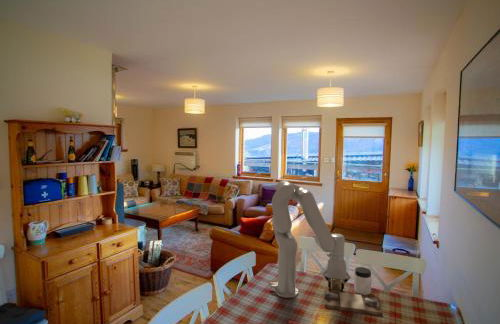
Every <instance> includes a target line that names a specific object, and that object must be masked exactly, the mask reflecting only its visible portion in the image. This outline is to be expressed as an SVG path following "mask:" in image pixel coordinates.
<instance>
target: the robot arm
mask: <svg viewBox="0 0 500 324" xmlns="http://www.w3.org/2000/svg"><path fill="white" fill-rule="evenodd" d="M271 198H272V199H271V208H272V218H271V219H272V220H271V222H272V227H273V232H274V237H275V240H276V243H277V245H278V256H277V257H278V261H277V281H276V282H274V281H270V283H269V286H270V287H271V288H272V289H274V293H275V294H276V295H277V296H279V297H281V298H285V299H291V298H295V297H297V296H299V289H298V288H297V287H296V282H297V280H296V279H297V278H296V277H297V276H296V274H297V253H298V242H297V240H296V238H295V236H294V235H293V234H292V226H293V224H292V219H291V215H290V210H289V201H290V200H293V201H295V202H296V203H298V205H299V206H300V209H301V211H302V213H303V215H304V219H305V220H306V223H308V226H309V227H310V228H311V229H312V231H313V233H314V235H315V236H314V242H315V244H316V245H317V246H318V247H319V248H320V249H321V251H322V252H325V253H327V254H326V257H328V259H327V265H326V269H325V270H324V271H323V272H322V273H321V275H322V276H323V278H324V279H325V280H326V281H327V287H328V288H329V290H328V291H331V290H332V289H331V285H332V279H341V292H343V291H344V290H345V284H346V283H347V282H348V281H349V280H351V279H352V277H351V275H350V274H349V273H348V271H347V262H346V259H345V244H346V243H345V241H346V239H345V235H343V234H341V233H331V231H330V229H329V227H328V225H327V223H326V221H325V219H324V218H323V216H322V213H321V211H320V208H319V206H318V204H317V201H316V199H315V197H314V195H313V193H312V192H311V191H310V190H308V189H306V188H303V187H301V186H299V185H296V184H294V183H292V182H290V181H287V180H286V179H285V180H280V181H278V182H277V183H276V186H275V191H274V194H273V196H272V197H271Z"/></svg>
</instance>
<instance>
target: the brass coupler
mask: <svg viewBox="0 0 500 324" xmlns="http://www.w3.org/2000/svg"><path fill="white" fill-rule="evenodd" d="M341 282H342V280H341V279H332V278H331V289H330V290H331V292H342V291H341Z"/></svg>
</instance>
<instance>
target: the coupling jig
mask: <svg viewBox="0 0 500 324" xmlns="http://www.w3.org/2000/svg"><path fill="white" fill-rule="evenodd" d="M324 308H328V309H333V310H342V311H347V312H353V313H354V312H355V313H362V314H369V315H374V316H383V311H382V309H381V306H380V303H379V299H378V297H375V296H369V295H368V296H367V295H362V294H359V293H357V294H356V293H350V292H343V291H341V292H332V290H324Z"/></svg>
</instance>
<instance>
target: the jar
mask: <svg viewBox="0 0 500 324" xmlns="http://www.w3.org/2000/svg"><path fill="white" fill-rule="evenodd" d="M353 276H354V278H353V289H354V291H355V294H356V293H357V294H358V295H362V296H367V295H370V294H371V293H372V271H371V269H369V268H367V267H363V266H358V267H357V266H356V267H355V269H354V275H353Z"/></svg>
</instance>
